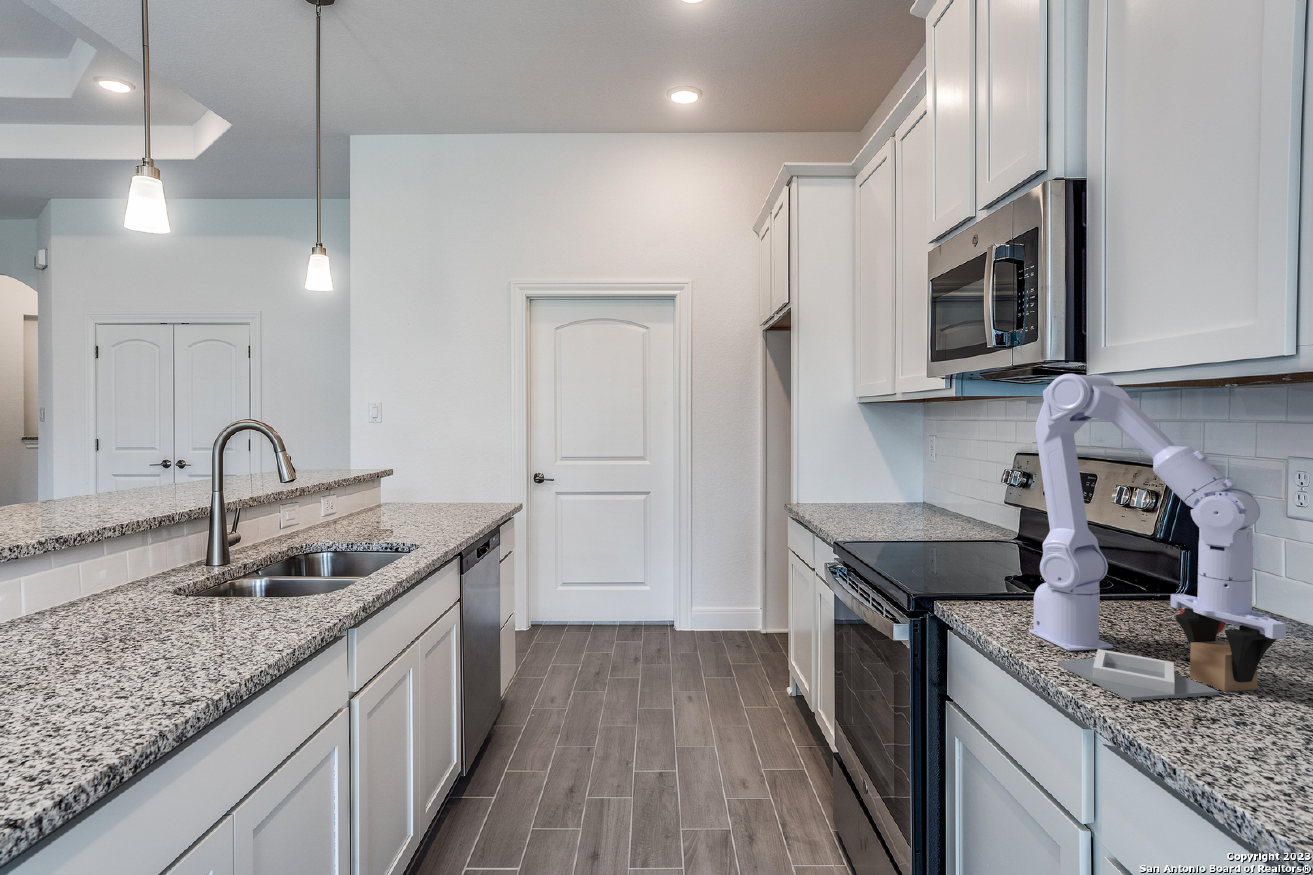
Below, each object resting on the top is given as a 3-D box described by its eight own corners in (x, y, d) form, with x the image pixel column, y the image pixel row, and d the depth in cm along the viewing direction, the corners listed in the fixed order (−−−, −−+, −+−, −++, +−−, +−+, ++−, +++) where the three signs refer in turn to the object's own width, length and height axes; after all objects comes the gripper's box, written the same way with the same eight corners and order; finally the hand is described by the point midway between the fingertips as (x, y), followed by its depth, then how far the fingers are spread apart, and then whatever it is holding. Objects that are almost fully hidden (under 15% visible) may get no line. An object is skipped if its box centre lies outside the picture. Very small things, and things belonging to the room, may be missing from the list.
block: (1189, 677, 93) (1190, 642, 93) (1220, 675, 94) (1221, 640, 94) (1224, 691, 88) (1225, 655, 88) (1256, 689, 89) (1257, 653, 89)
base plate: (1057, 664, 98) (1058, 650, 98) (1135, 659, 100) (1135, 646, 100) (1130, 701, 86) (1131, 685, 86) (1218, 695, 87) (1218, 680, 87)
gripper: (1152, 565, 97) (1151, 655, 98) (1253, 591, 83) (1250, 696, 84) (1194, 563, 98) (1193, 653, 99) (1301, 588, 84) (1298, 693, 84)
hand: (1222, 673), depth 91 cm, fingers closed on block, 5 cm apart
